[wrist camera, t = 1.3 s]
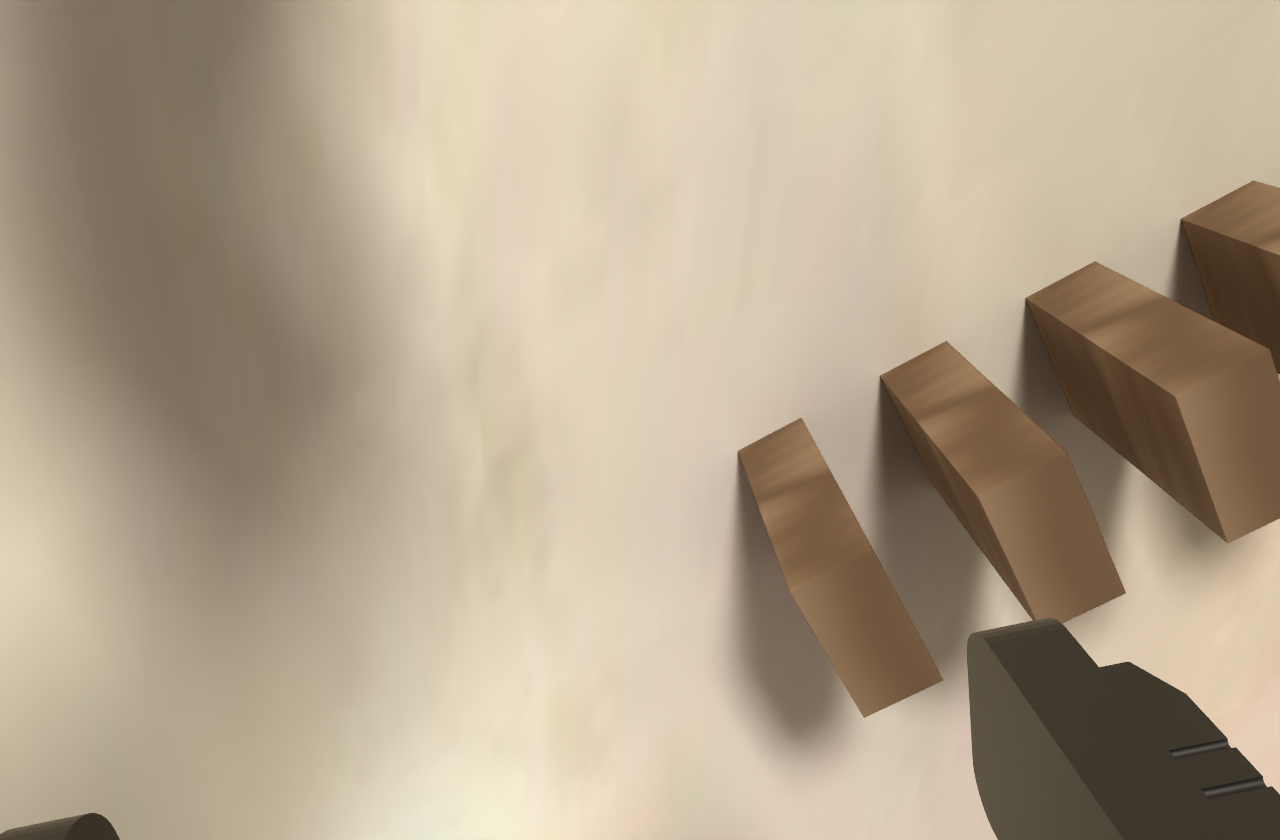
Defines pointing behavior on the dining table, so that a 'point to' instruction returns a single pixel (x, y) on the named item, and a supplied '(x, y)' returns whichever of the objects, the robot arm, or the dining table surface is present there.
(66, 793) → the dining table surface
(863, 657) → the domino
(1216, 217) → the domino
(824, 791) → the dining table surface
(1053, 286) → the domino
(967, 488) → the domino
